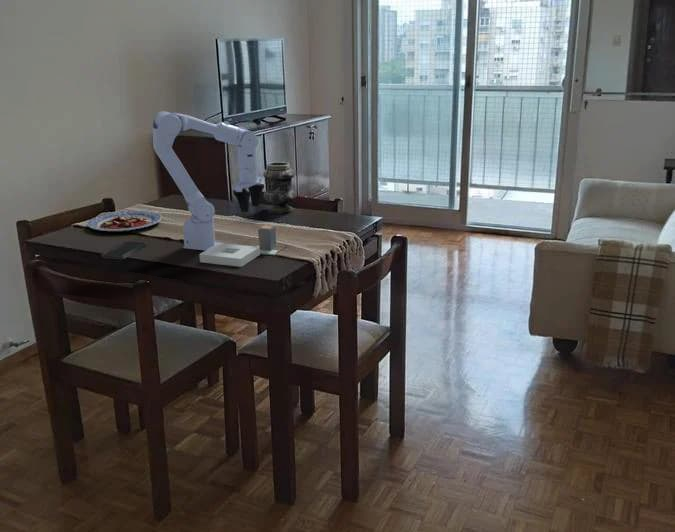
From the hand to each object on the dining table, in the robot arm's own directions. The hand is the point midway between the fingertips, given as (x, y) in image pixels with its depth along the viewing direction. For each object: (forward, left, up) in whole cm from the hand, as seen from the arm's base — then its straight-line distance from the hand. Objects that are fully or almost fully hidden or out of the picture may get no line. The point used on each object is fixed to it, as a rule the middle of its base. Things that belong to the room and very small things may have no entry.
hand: (250, 208), depth 228 cm
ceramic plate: (-52, +2, -11) cm, 53 cm away
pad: (+10, -9, -10) cm, 17 cm away
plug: (+10, -9, -10) cm, 16 cm away
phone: (-33, -24, -11) cm, 42 cm away
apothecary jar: (-8, +38, -11) cm, 40 cm away
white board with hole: (+3, -20, -10) cm, 23 cm away
